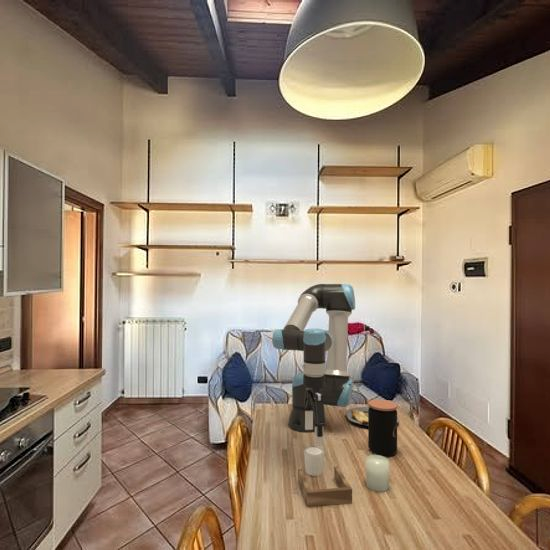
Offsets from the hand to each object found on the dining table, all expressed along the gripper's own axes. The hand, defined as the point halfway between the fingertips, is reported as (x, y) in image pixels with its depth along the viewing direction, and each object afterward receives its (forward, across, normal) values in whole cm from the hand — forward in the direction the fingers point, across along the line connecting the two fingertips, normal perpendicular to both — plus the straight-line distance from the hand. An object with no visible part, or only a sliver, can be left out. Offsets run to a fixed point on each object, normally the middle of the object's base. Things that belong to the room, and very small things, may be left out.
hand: (313, 437), depth 123 cm
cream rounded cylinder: (+12, +10, +18) cm, 24 cm away
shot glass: (+12, 0, 0) cm, 12 cm away
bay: (+12, +11, 0) cm, 16 cm away
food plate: (+11, -42, +39) cm, 58 cm away
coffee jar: (+12, -12, +30) cm, 34 cm away
